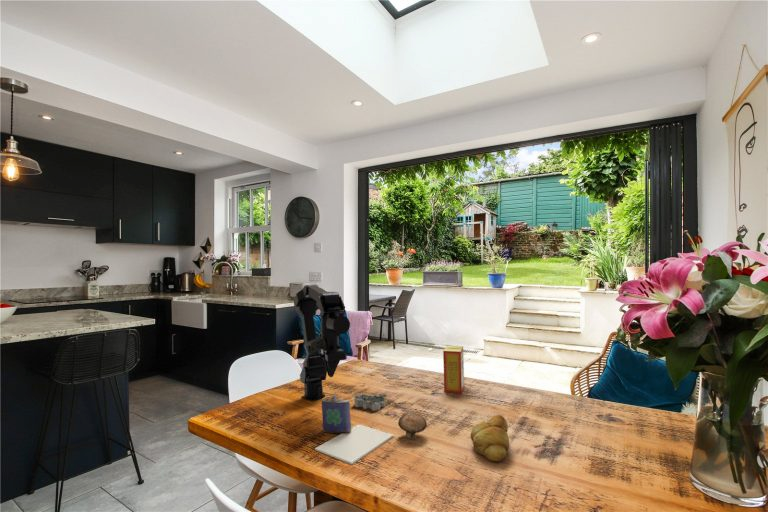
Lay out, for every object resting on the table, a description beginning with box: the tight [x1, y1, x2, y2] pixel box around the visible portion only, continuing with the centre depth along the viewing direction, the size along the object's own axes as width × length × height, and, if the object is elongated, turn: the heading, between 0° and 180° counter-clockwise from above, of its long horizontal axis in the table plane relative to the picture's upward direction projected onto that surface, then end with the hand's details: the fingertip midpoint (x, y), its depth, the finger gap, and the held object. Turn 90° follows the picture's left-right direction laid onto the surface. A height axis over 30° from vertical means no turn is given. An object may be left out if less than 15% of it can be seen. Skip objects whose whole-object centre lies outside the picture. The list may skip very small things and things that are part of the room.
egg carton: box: [353, 393, 387, 412], centre depth 131 cm, size 11×8×4 cm
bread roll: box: [470, 414, 510, 462], centre depth 97 cm, size 13×10×8 cm
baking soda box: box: [442, 345, 465, 394], centre depth 147 cm, size 10×6×16 cm
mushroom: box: [397, 412, 428, 440], centre depth 107 cm, size 8×8×6 cm
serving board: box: [314, 424, 395, 465], centre depth 103 cm, size 13×18×1 cm
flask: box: [321, 393, 352, 434], centre depth 111 cm, size 9×3×11 cm, turn 68°
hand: (330, 376), depth 126 cm, fingers closed
